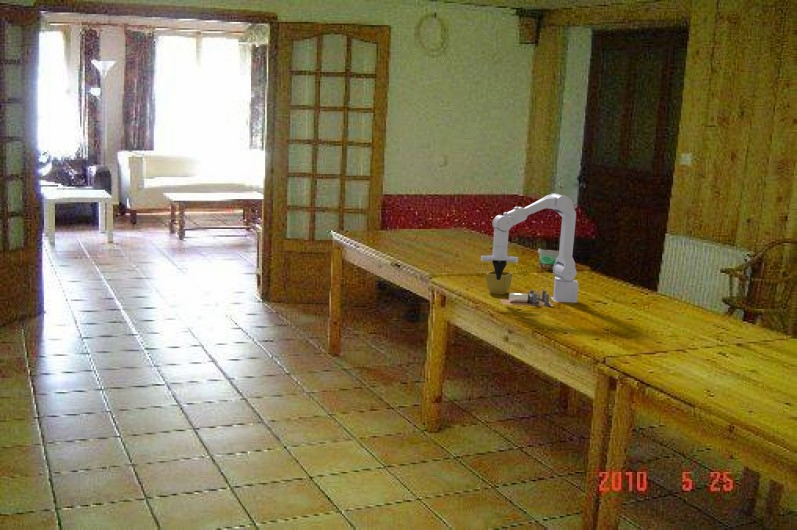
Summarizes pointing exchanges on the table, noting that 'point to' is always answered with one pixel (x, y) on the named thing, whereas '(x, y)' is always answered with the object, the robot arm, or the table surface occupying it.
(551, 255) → the food container
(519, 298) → the tube
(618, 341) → the table surface
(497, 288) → the flower pot
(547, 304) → the rail
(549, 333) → the table surface
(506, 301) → the tile
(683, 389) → the table surface
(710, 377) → the table surface
